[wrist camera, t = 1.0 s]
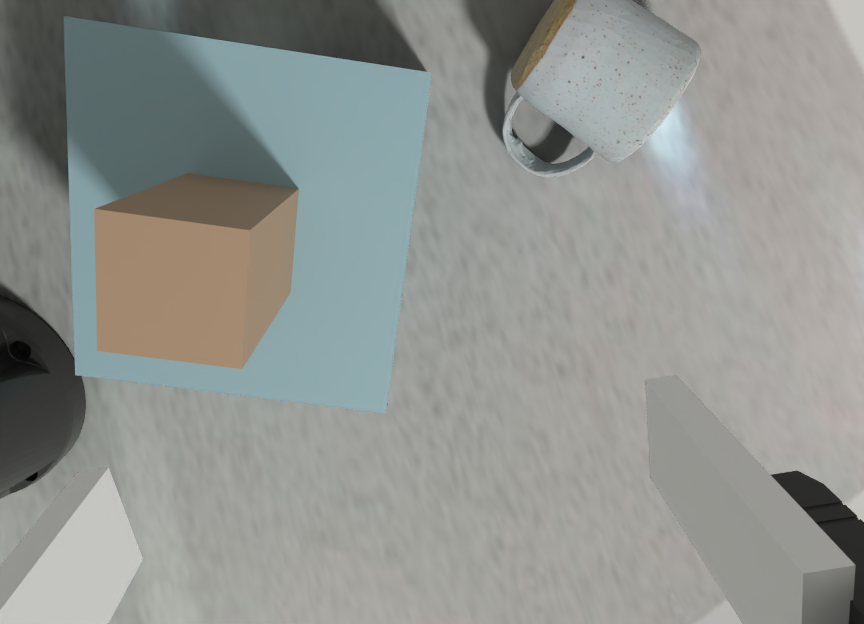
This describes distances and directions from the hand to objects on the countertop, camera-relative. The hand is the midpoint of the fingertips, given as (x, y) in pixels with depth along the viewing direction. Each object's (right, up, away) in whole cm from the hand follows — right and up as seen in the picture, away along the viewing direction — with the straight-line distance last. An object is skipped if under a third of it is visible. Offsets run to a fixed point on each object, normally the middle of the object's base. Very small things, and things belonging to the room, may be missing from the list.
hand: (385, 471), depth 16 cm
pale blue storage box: (-8, +12, +27) cm, 30 cm away
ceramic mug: (+10, +18, +25) cm, 32 cm away
